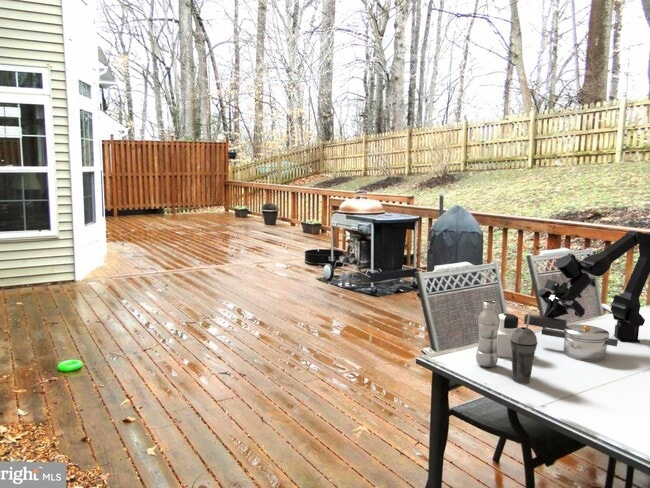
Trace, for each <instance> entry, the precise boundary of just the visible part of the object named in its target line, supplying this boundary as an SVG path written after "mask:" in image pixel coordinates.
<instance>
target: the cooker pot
mask: <svg viewBox="0 0 650 488" xmlns="http://www.w3.org/2000/svg"><path fill="white" fill-rule="evenodd" d="M540 335H541V336H550V337H555V338H561V339H563V350H562V351H563V355H565V356H566V357H568V358H571V359H574V360H578V361H582V362H588V363H589V362H590V363H600V362H604V361H605V360H606V358H607V350H608V348H607V347H608V346H613V347H615V348H617V346H618V343H619V342H618V341H619V340H618V339H617V338H608V339H606V340H600V341H593V340H584V339H579V338H575V337H572V336H569V335H567V334H566V333H564V331H562V330H557V329H551V328H545V327H542V329H541V334H540Z"/></svg>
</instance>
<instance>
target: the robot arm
mask: <svg viewBox="0 0 650 488" xmlns="http://www.w3.org/2000/svg"><path fill="white" fill-rule="evenodd" d="M637 245H638V252H639V256H638V259H637V260H636V263H635V265H634V267H633V270H632V272H631V275H630V277H629V279H628V282H627V284H626V286H625V289H624V291H623V292H622V293H621V294H620V295H618V294H615V295H614V296H613V301H612V302H611V303H610V305H609V306H610V311H611V314H612V316H613V320H614V321H616V324H615V325H614V334H613V337H615V339H617V340H618V341H620V342H629V343H641V341H640V339H639V334H640V333H639V332H640V327H641V326H644V324H645V321H646V320H645V318H644V317H643V316H642V314H640V310H641V302H640V301H641V300H640V296H641V295H642V292H643V290H644V288H645V286H646V282H647V281H648V278H649V276H650V232H646V233H643V232H641V231H637V230H636V231H635V230H629V231H627V232H626V233H625V234H624V235H623V236H621V237H620V238H618V240H616V241H615V242H613V243H612V244H611V245H608V246H607V248H605V249H603V250H602V251H600V252H597V253H593V254H591V255H588V256H587V257H585V258H583V259H582V260H578V259H577V257H576V256H575V254H574V253H567V255H564V256H561V257H559V258H558V259H557V260H556V261H555V264H554V266H555V267H556V268H557V270H558V271H559V272H560V273H561V274H562V276H563V277H565V279H568V280H567V281H566V282H565V281H562V280H560V281H559V282H558V281H555V280H552V279H549V278H548V279H547V280H546V282H545V284H544V285H543V286H544V287H543V288H540V289H539V290H538V291H537V292H536V293H537V295H538V296H539V297H540V299H542V300H543V302H544V303H545V304H547V306H546V308H545V311H544V313H543V316H544V317H550V318H556V319H557V318H559V317H562V316H565V315H569V314H570V313H569V311H570V310H573V311H574V315H575V316H577V317H579V318H582V317H584V315H585V314H586V309H585V308H584V307H583V306H582V305H581V304H580V302H579V301H578V300H576V299H581V298H582V297H583V296H582V293H583V291H585V289H587V288H588V286H590V287H593V288H595V287H596V278H593V277H599V278H600V277H603V276H604V275H605V274H606V273H607V272H608V270H610V268H611V266H612V264H613V263H614V262H615V261H616V260H617V259H619V258H621V256H624V254H626V253H628V252H629V251H630V250H631V249H633V248H634V247H636V246H637ZM591 276H593V277H591Z"/></svg>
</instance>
